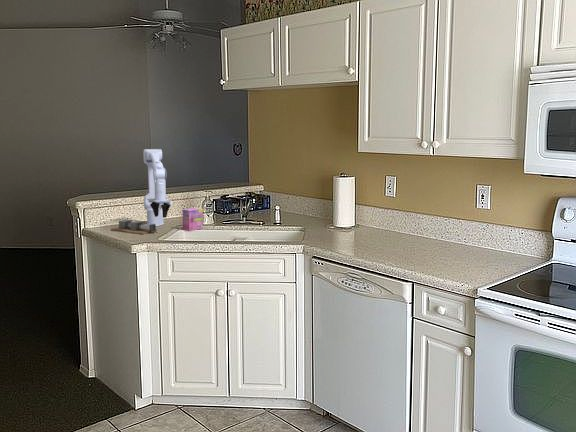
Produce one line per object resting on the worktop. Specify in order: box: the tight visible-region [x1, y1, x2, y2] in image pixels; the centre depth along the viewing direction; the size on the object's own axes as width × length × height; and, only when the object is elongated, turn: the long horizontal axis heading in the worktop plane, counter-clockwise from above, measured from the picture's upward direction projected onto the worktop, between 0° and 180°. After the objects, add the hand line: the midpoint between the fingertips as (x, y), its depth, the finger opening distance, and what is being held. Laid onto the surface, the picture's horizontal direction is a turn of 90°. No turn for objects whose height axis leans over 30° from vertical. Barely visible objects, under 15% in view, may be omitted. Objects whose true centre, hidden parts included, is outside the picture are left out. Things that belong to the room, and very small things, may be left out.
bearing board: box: [110, 219, 158, 236], centre depth 320 cm, size 12×22×5 cm, turn 64°
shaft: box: [126, 223, 157, 233], centre depth 318 cm, size 4×20×4 cm, turn 64°
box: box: [182, 206, 204, 232], centre depth 326 cm, size 10×6×12 cm, turn 143°
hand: (160, 216), depth 311 cm, fingers open, 5 cm apart
